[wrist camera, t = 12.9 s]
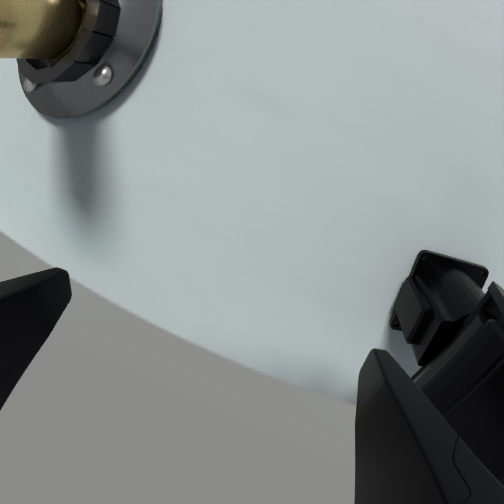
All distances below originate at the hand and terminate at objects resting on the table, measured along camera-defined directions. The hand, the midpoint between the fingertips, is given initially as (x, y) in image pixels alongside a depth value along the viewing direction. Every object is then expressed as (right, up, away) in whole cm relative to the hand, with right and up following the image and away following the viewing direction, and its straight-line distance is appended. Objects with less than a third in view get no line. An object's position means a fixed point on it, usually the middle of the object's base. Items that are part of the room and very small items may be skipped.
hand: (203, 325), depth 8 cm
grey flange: (-12, +18, +8) cm, 23 cm away
